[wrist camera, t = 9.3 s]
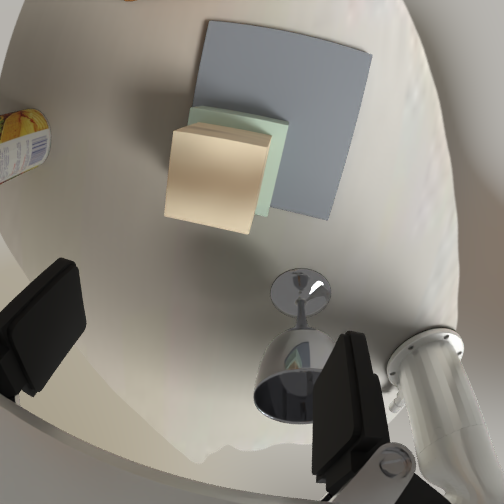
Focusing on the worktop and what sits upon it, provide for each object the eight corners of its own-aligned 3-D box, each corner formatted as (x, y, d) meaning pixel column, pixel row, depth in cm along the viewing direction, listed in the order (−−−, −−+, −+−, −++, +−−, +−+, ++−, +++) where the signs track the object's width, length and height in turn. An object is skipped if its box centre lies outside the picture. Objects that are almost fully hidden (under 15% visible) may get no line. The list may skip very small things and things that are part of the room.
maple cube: (257, 204, 26) (248, 234, 21) (188, 190, 26) (164, 216, 21) (272, 135, 24) (267, 147, 18) (198, 121, 24) (173, 130, 18)
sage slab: (269, 201, 30) (267, 217, 27) (190, 184, 30) (177, 197, 27) (288, 121, 27) (288, 125, 23) (202, 105, 27) (190, 107, 23)
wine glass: (295, 252, 34) (296, 355, 21) (348, 289, 35) (370, 393, 22) (253, 298, 37) (234, 402, 24) (304, 330, 39) (305, 432, 26)
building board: (326, 216, 32) (327, 220, 31) (183, 185, 32) (180, 187, 31) (369, 56, 23) (372, 54, 22) (211, 22, 23) (209, 20, 22)
